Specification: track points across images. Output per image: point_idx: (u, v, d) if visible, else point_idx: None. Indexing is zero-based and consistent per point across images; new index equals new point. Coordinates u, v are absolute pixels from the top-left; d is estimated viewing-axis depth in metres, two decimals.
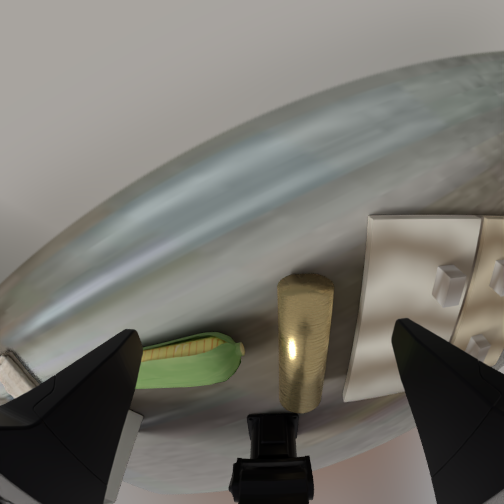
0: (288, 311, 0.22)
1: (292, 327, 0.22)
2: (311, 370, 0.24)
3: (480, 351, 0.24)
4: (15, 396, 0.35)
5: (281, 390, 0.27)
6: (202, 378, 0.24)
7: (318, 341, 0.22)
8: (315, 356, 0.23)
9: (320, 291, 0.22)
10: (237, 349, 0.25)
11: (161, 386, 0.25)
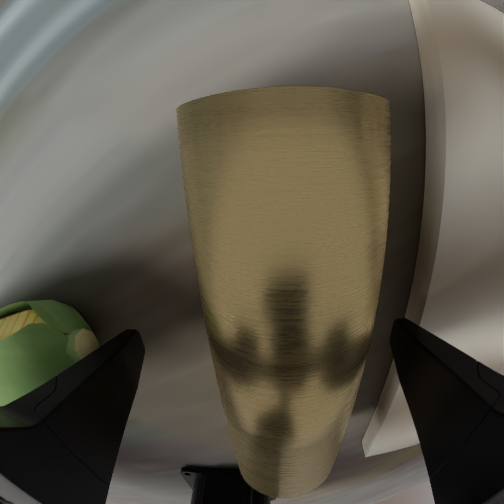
0: (240, 169, 0.04)
1: (272, 258, 0.05)
2: (339, 412, 0.07)
3: None
4: None
5: (245, 466, 0.09)
6: None
7: (369, 308, 0.06)
8: (355, 366, 0.06)
9: None
10: (70, 345, 0.08)
11: None
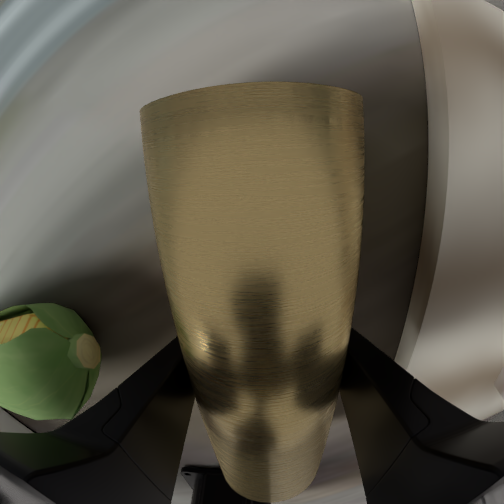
0: (160, 173, 0.04)
1: (186, 259, 0.05)
2: (288, 432, 0.06)
3: None
4: None
5: (216, 456, 0.09)
6: (15, 403, 0.07)
7: (312, 333, 0.05)
8: (301, 391, 0.06)
9: None
10: (71, 350, 0.08)
11: None
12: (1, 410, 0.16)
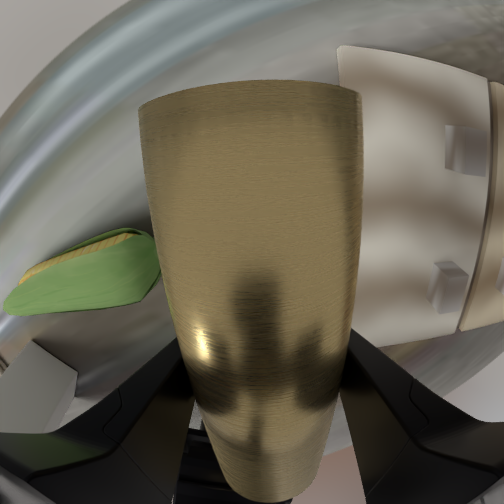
0: (158, 172, 0.04)
1: (185, 259, 0.05)
2: (288, 432, 0.06)
3: None
4: None
5: None
6: (105, 288, 0.16)
7: (311, 333, 0.05)
8: (301, 391, 0.06)
9: None
10: (156, 248, 0.17)
11: (63, 305, 0.18)
12: (42, 350, 0.25)
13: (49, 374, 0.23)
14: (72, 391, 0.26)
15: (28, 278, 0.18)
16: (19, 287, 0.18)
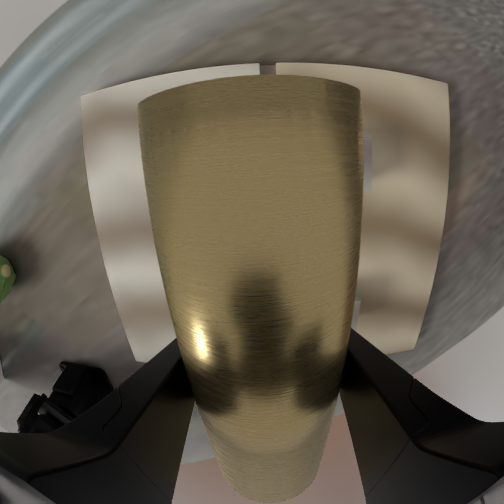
0: (156, 168, 0.04)
1: (183, 255, 0.05)
2: (288, 432, 0.06)
3: None
4: None
5: (216, 456, 0.09)
6: None
7: (311, 330, 0.05)
8: (301, 390, 0.06)
9: None
10: (0, 269, 0.19)
11: None
12: None
13: None
14: None
15: None
16: None
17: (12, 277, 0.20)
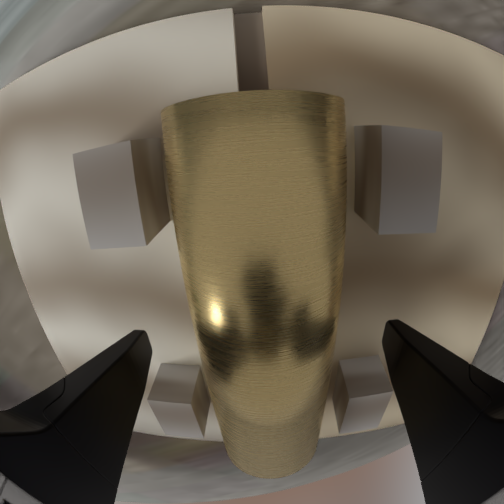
0: (181, 160, 0.06)
1: (202, 230, 0.06)
2: (288, 394, 0.07)
3: (354, 404, 0.10)
4: None
5: (221, 431, 0.10)
6: None
7: (306, 293, 0.06)
8: (299, 350, 0.07)
9: None
10: None
11: None
12: None
13: None
14: None
15: None
16: None
17: None
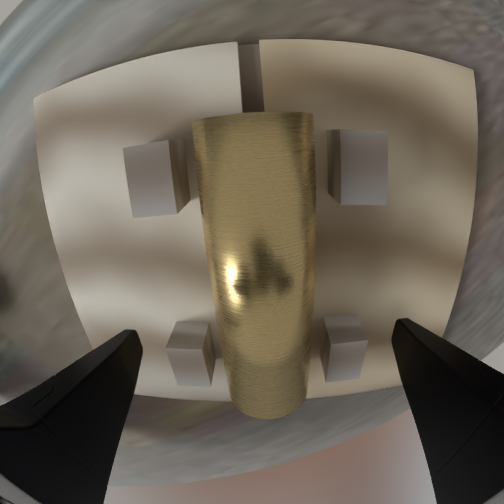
0: (208, 153, 0.09)
1: (221, 196, 0.09)
2: (279, 320, 0.11)
3: (335, 350, 0.14)
4: None
5: (226, 372, 0.14)
6: None
7: (288, 237, 0.10)
8: (285, 281, 0.10)
9: None
10: None
11: None
12: None
13: None
14: None
15: None
16: None
17: None
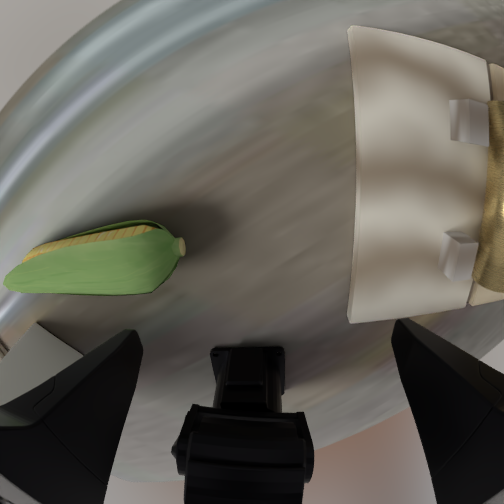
0: None
1: None
2: None
3: None
4: None
5: (491, 258, 0.16)
6: (120, 276, 0.17)
7: None
8: None
9: None
10: (175, 243, 0.18)
11: (71, 287, 0.18)
12: (46, 332, 0.25)
13: (53, 357, 0.23)
14: None
15: (35, 256, 0.18)
16: (24, 264, 0.19)
17: None
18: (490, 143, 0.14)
